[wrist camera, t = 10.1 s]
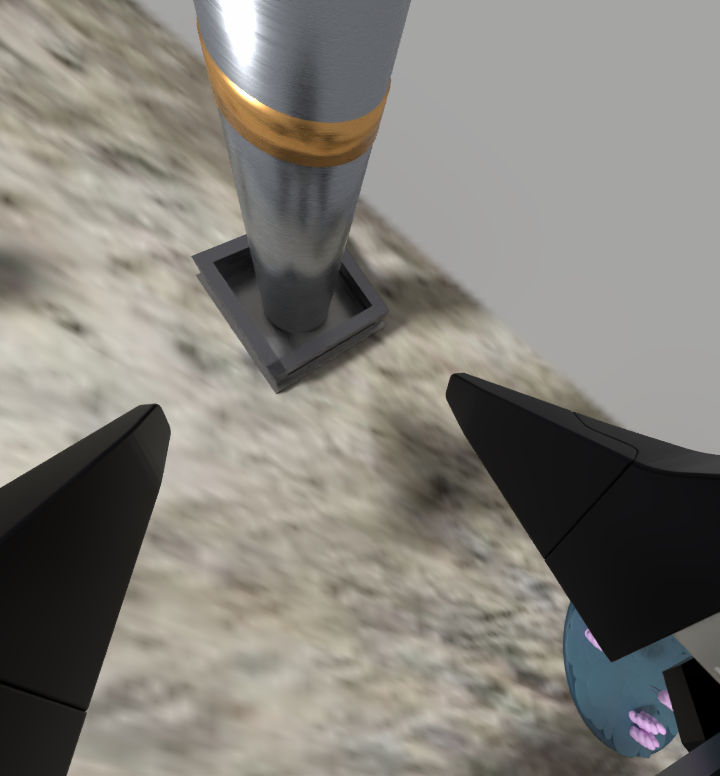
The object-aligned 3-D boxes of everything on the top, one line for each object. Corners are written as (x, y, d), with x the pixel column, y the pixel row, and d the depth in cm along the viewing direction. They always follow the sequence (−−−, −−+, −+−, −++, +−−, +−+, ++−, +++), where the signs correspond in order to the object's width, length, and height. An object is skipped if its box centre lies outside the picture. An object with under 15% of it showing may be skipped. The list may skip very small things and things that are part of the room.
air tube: (331, 334, 18) (432, 44, 5) (260, 332, 17) (147, -50, 4) (328, 274, 19) (409, -113, 6) (261, 268, 18) (169, -227, 5)
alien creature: (611, 793, 18) (784, 987, 11) (530, 611, 19) (647, 695, 13) (707, 676, 21) (882, 775, 15) (633, 527, 22) (766, 561, 16)
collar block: (383, 328, 20) (395, 312, 17) (276, 393, 17) (272, 385, 15) (314, 230, 20) (317, 201, 18) (199, 280, 18) (183, 254, 15)
